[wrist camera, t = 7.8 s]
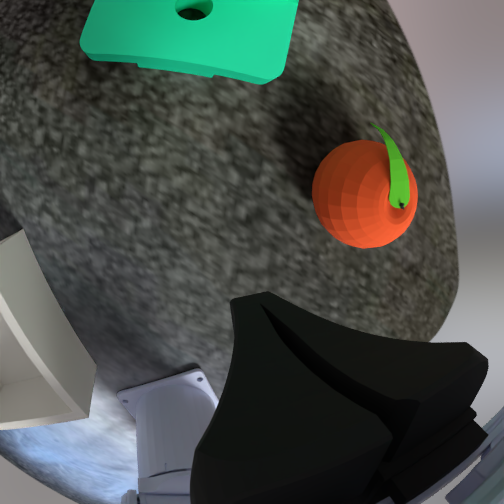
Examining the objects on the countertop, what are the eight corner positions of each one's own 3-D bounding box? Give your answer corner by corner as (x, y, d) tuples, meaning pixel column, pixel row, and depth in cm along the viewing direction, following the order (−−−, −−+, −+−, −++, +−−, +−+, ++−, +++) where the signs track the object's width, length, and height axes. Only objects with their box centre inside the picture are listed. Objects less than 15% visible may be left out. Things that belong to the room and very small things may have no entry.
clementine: (287, 127, 19) (347, 121, 12) (369, 123, 20) (439, 124, 14) (298, 239, 22) (353, 279, 15) (374, 222, 23) (437, 250, 17)
